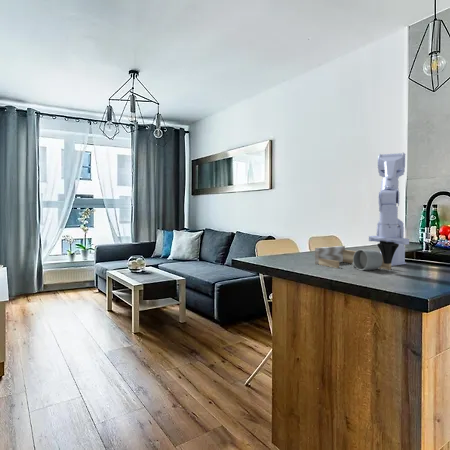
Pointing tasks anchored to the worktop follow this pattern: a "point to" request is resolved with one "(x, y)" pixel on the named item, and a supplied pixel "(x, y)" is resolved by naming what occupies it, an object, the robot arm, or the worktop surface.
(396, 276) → the worktop surface
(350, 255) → the brown wooden pieces
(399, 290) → the worktop surface
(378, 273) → the worktop surface
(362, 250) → the ceramic mug
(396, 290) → the worktop surface
